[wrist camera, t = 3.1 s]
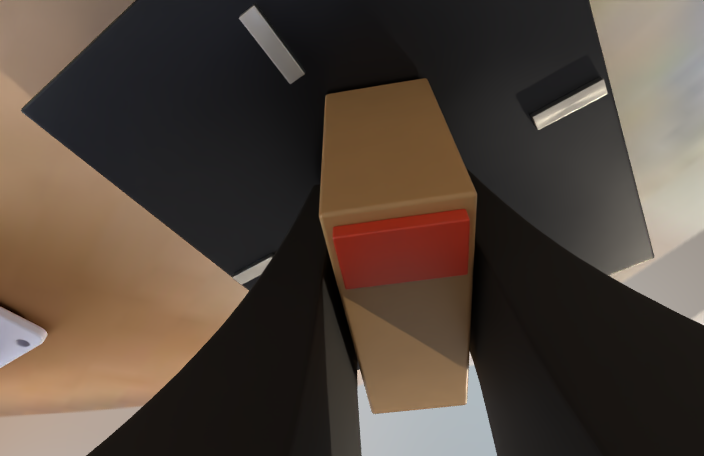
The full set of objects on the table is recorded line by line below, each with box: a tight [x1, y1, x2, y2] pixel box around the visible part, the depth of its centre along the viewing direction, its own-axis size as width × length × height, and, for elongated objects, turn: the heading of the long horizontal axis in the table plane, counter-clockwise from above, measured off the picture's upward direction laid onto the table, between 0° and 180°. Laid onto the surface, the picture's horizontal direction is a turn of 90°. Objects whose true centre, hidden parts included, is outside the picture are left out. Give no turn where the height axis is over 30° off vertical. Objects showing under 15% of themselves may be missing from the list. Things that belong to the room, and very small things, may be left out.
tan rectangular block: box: [319, 78, 477, 414], centre depth 8 cm, size 6×2×4 cm, turn 9°
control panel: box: [21, 0, 654, 370], centre depth 11 cm, size 10×12×3 cm
